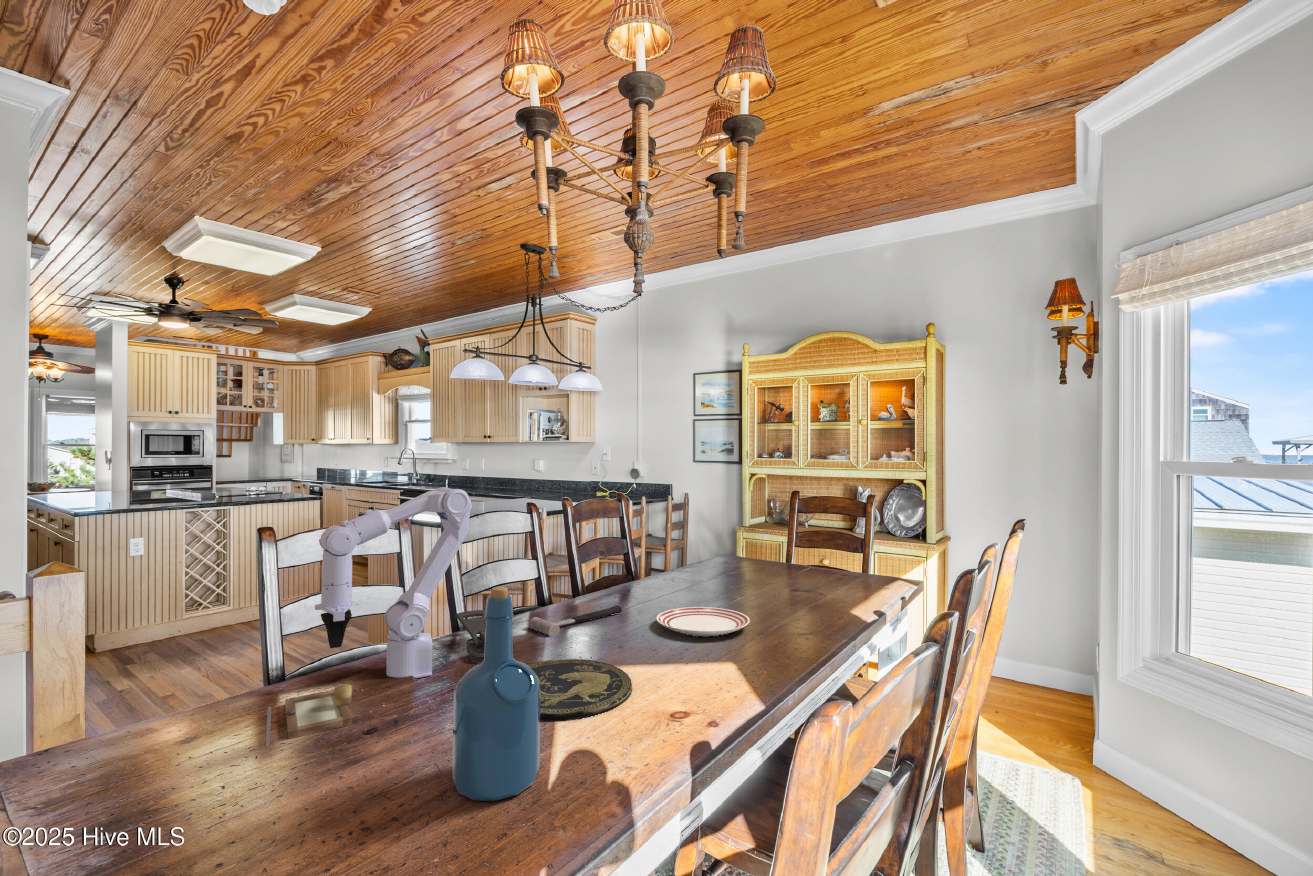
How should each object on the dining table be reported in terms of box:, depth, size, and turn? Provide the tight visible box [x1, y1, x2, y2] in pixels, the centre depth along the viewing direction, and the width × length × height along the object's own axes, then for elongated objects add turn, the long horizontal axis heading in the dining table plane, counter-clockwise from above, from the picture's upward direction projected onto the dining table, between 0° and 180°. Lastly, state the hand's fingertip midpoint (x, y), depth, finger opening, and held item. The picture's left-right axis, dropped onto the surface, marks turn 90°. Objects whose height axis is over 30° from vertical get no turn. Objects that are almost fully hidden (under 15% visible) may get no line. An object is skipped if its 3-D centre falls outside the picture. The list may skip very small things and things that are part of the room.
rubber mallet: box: [528, 605, 623, 637], centre depth 176 cm, size 10×4×30 cm
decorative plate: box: [525, 658, 633, 722], centre depth 127 cm, size 30×2×30 cm
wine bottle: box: [451, 586, 541, 802], centre depth 92 cm, size 14×13×30 cm
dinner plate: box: [655, 606, 751, 638], centre depth 172 cm, size 27×27×3 cm
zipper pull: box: [455, 609, 486, 665], centre depth 153 cm, size 9×7×25 cm
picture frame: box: [284, 684, 353, 740], centre depth 112 cm, size 11×16×4 cm
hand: (335, 646), depth 125 cm, fingers closed
